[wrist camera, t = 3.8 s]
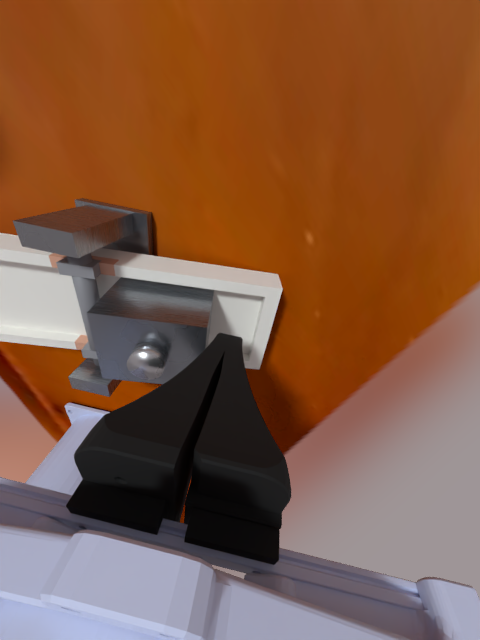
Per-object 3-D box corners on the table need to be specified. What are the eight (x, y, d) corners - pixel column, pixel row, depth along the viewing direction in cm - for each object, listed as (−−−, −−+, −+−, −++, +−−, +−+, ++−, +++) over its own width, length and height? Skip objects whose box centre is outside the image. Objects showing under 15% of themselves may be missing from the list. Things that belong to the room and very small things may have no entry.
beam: (256, 356, 18) (258, 382, 16) (-41, 322, 16) (-82, 347, 14) (280, 264, 14) (287, 283, 12) (-113, 204, 12) (-187, 214, 10)
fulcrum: (157, 348, 19) (122, 400, 15) (109, 337, 19) (60, 386, 15) (151, 212, 13) (91, 234, 9) (82, 198, 13) (-8, 213, 9)
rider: (208, 344, 16) (198, 401, 12) (128, 335, 15) (94, 390, 12) (214, 290, 13) (205, 339, 10) (120, 277, 13) (75, 323, 9)
